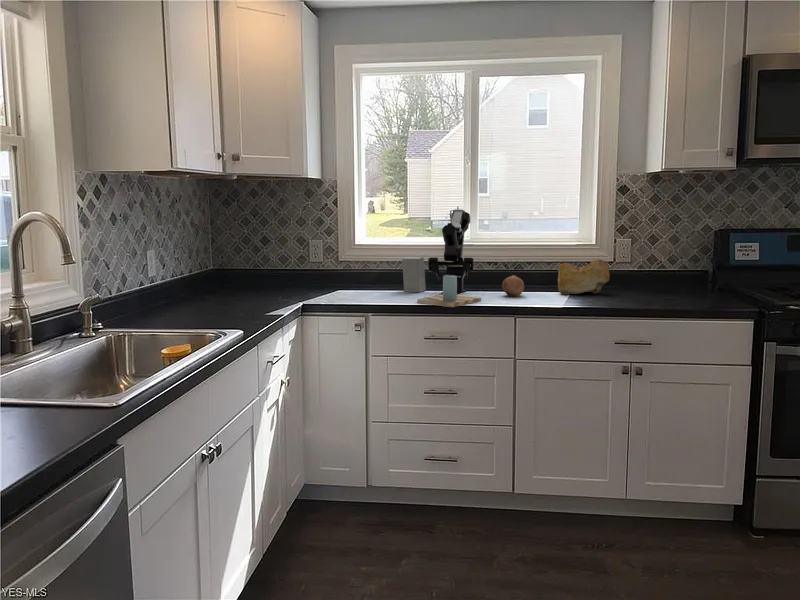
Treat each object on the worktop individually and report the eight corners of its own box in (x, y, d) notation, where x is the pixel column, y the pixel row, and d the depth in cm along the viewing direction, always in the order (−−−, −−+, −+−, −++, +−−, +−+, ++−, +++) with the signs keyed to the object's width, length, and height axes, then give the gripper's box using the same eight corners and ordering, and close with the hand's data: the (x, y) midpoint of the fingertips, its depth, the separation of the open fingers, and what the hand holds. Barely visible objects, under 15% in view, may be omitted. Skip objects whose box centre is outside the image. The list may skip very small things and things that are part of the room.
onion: (512, 301, 295) (515, 280, 298) (527, 298, 287) (530, 276, 290) (496, 295, 290) (499, 273, 293) (510, 291, 283) (513, 269, 285)
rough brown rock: (597, 291, 309) (596, 258, 307) (613, 293, 292) (612, 259, 291) (548, 294, 306) (547, 261, 305) (562, 296, 289) (561, 262, 288)
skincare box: (425, 291, 306) (425, 256, 304) (417, 293, 300) (417, 258, 298) (410, 289, 311) (410, 256, 308) (402, 291, 305) (401, 257, 302)
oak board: (446, 296, 290) (446, 293, 289) (481, 300, 278) (481, 297, 278) (417, 302, 275) (417, 299, 274) (452, 307, 263) (452, 303, 263)
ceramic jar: (452, 298, 274) (452, 274, 272) (459, 300, 269) (459, 276, 267) (440, 299, 272) (440, 275, 270) (446, 301, 267) (446, 277, 265)
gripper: (428, 238, 277) (426, 267, 268) (473, 238, 275) (473, 267, 266) (429, 255, 286) (428, 284, 277) (473, 255, 284) (473, 284, 275)
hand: (450, 279), depth 273 cm, fingers open, 9 cm apart
